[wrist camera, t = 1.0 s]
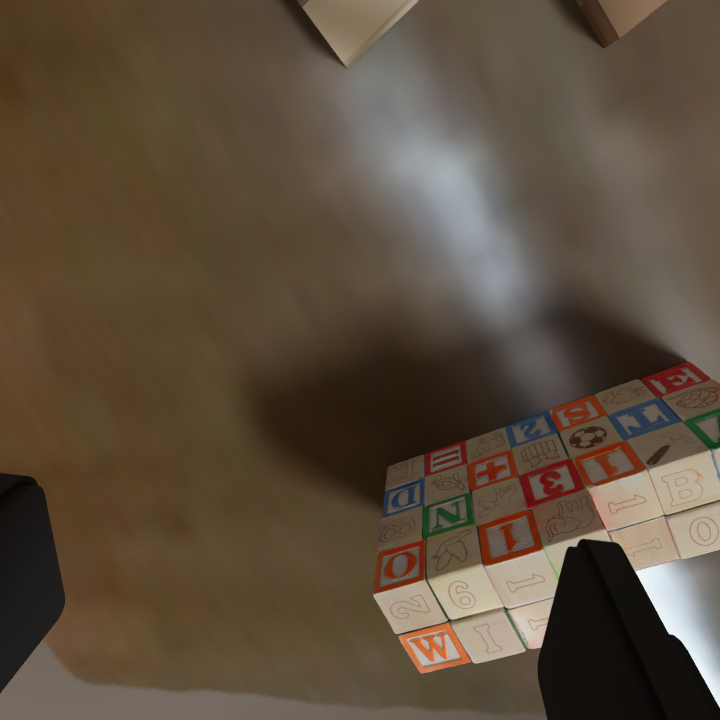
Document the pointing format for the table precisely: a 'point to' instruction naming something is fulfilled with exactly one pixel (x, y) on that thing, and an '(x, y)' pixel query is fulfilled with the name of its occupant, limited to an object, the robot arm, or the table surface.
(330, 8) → the board
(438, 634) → the stack of blocks
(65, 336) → the table surface
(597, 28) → the walnut crook
